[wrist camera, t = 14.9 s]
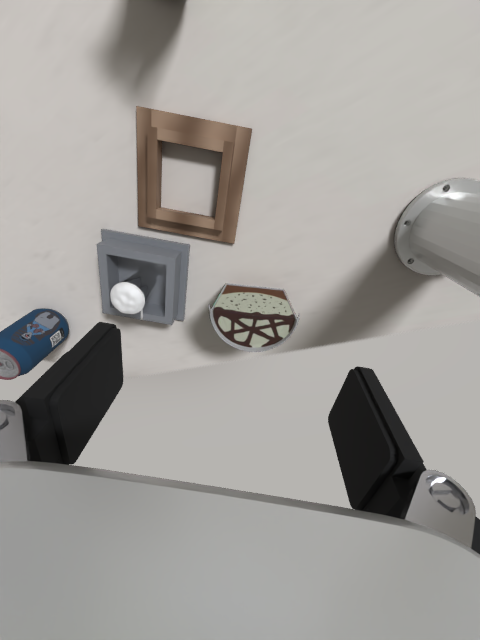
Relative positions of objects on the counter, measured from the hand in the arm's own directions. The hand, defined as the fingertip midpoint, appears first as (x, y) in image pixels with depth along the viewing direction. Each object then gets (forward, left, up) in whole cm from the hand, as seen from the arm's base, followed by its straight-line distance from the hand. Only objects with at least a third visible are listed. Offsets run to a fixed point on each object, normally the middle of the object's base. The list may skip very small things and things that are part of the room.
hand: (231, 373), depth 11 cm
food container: (-3, +12, -32) cm, 35 cm away
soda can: (+32, +23, -32) cm, 51 cm away
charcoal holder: (+15, +11, -32) cm, 37 cm away
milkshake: (+14, +11, -32) cm, 37 cm away
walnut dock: (+9, -4, -32) cm, 34 cm away
